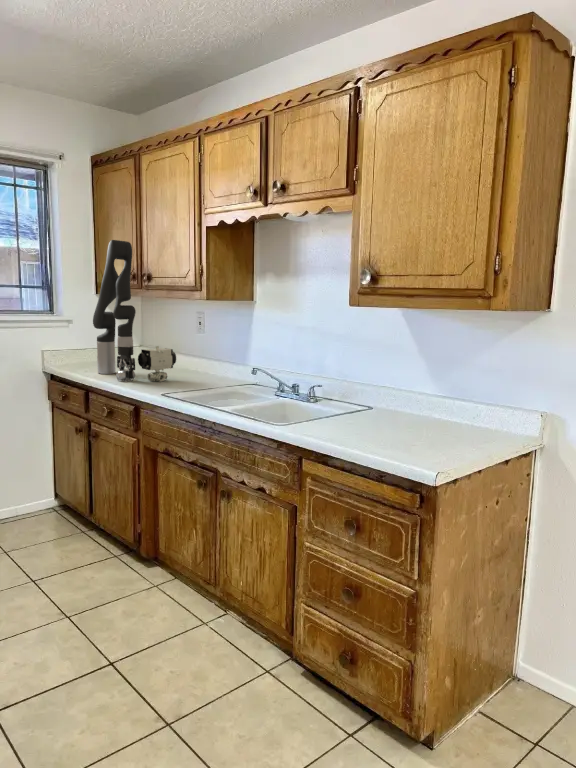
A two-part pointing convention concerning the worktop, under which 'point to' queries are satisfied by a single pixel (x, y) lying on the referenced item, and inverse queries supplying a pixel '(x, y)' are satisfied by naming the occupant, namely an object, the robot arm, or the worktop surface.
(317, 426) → the worktop surface
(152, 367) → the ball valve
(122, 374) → the coupling
